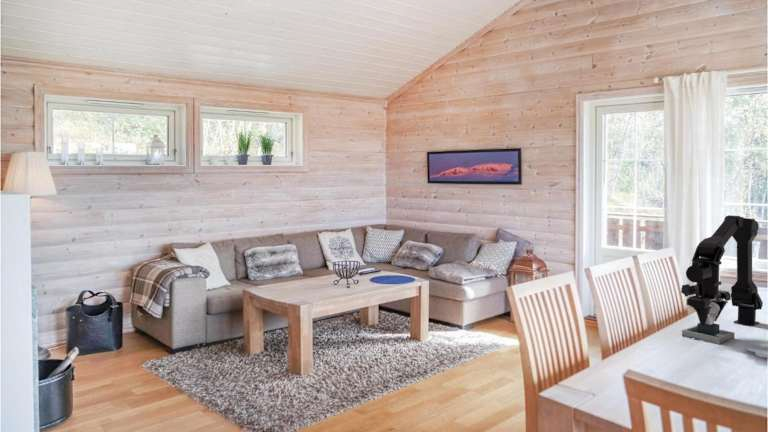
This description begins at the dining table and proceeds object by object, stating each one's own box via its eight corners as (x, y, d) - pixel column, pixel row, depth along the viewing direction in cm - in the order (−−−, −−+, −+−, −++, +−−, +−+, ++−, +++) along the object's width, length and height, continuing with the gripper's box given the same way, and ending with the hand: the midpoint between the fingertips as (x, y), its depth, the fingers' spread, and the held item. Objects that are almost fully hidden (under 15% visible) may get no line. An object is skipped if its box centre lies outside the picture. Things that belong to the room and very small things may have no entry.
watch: (721, 332, 209) (722, 300, 208) (712, 336, 203) (712, 304, 202) (704, 329, 213) (705, 298, 212) (694, 333, 208) (695, 302, 207)
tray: (697, 330, 216) (697, 325, 216) (734, 338, 206) (734, 332, 206) (681, 336, 210) (682, 330, 210) (719, 344, 200) (719, 338, 200)
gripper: (699, 271, 218) (698, 314, 220) (672, 278, 208) (671, 323, 209) (732, 276, 209) (730, 320, 211) (704, 283, 199) (703, 329, 200)
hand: (708, 323), depth 208 cm, fingers closed on watch, 8 cm apart
